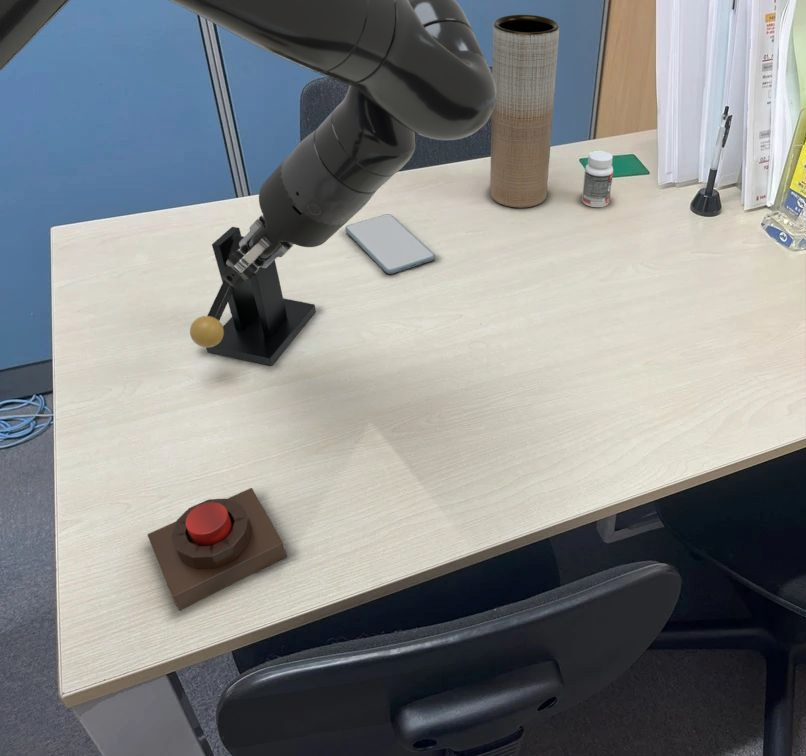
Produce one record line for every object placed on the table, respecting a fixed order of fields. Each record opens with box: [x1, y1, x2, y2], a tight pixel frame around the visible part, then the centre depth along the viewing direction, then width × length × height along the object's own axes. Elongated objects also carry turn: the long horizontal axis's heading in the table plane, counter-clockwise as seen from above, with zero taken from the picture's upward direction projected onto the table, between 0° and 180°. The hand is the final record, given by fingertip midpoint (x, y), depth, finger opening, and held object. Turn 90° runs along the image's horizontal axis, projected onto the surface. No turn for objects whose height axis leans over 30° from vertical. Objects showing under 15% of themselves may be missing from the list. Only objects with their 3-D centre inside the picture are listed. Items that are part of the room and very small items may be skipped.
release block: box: [147, 487, 288, 611], centre depth 65 cm, size 10×8×4 cm
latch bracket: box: [205, 226, 317, 367], centre depth 88 cm, size 12×9×14 cm
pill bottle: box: [581, 150, 614, 208], centre depth 119 cm, size 5×5×8 cm
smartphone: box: [344, 213, 436, 275], centre depth 109 cm, size 8×1×15 cm
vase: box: [489, 14, 560, 209], centre depth 114 cm, size 10×10×28 cm
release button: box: [185, 502, 232, 546], centre depth 64 cm, size 4×4×2 cm
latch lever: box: [189, 235, 245, 348], centre depth 82 cm, size 14×4×4 cm, turn 165°
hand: (230, 278), depth 74 cm, fingers closed
